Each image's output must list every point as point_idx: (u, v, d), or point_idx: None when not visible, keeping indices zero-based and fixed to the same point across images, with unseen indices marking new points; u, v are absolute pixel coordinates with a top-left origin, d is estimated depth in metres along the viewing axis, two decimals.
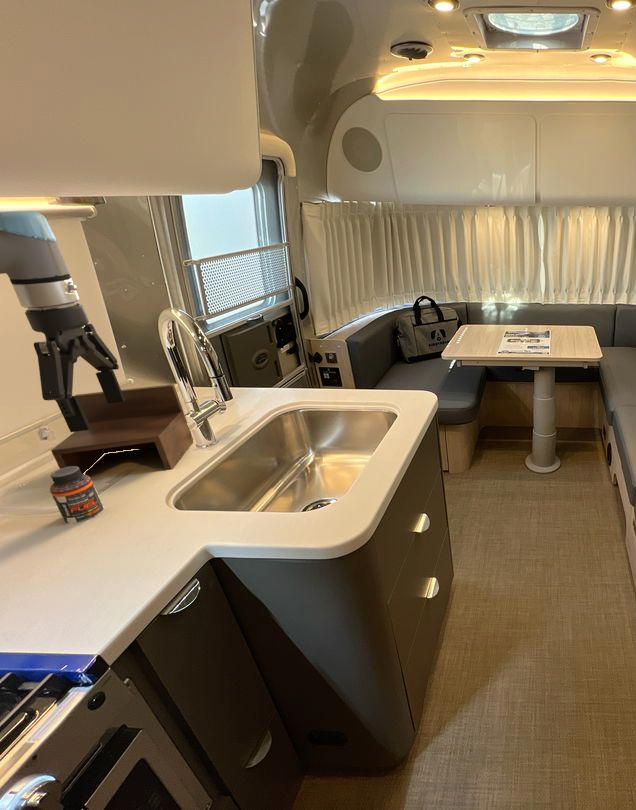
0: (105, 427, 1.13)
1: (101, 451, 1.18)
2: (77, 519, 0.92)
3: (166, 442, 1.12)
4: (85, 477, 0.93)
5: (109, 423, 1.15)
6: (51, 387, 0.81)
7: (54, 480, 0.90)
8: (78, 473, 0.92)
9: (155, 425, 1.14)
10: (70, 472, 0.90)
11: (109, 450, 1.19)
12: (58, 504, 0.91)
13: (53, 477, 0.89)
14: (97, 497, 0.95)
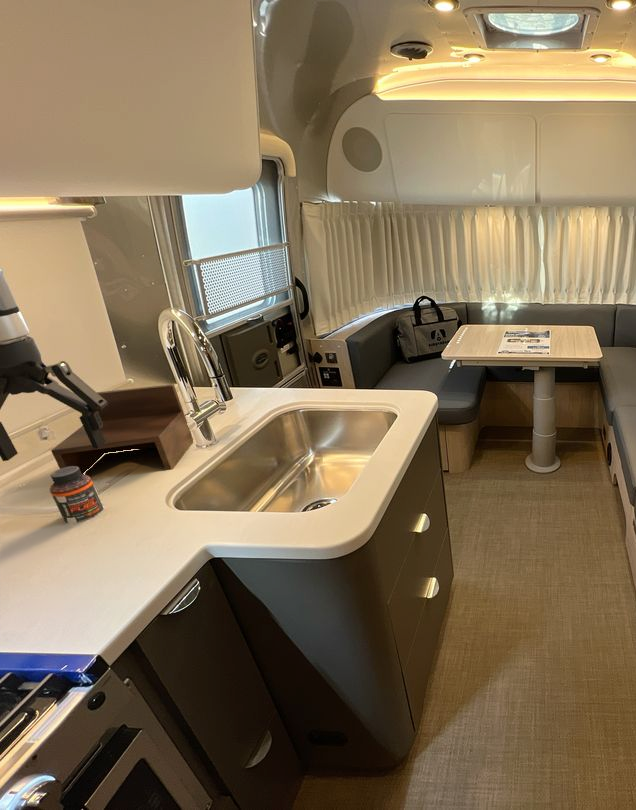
0: (105, 427, 1.13)
1: (101, 451, 1.18)
2: (77, 519, 0.92)
3: (166, 442, 1.12)
4: (85, 477, 0.93)
5: (109, 423, 1.15)
6: (97, 397, 0.88)
7: (54, 480, 0.90)
8: (78, 473, 0.92)
9: (155, 425, 1.14)
10: (70, 472, 0.90)
11: (109, 450, 1.19)
12: (58, 504, 0.91)
13: (53, 477, 0.89)
14: (97, 497, 0.95)
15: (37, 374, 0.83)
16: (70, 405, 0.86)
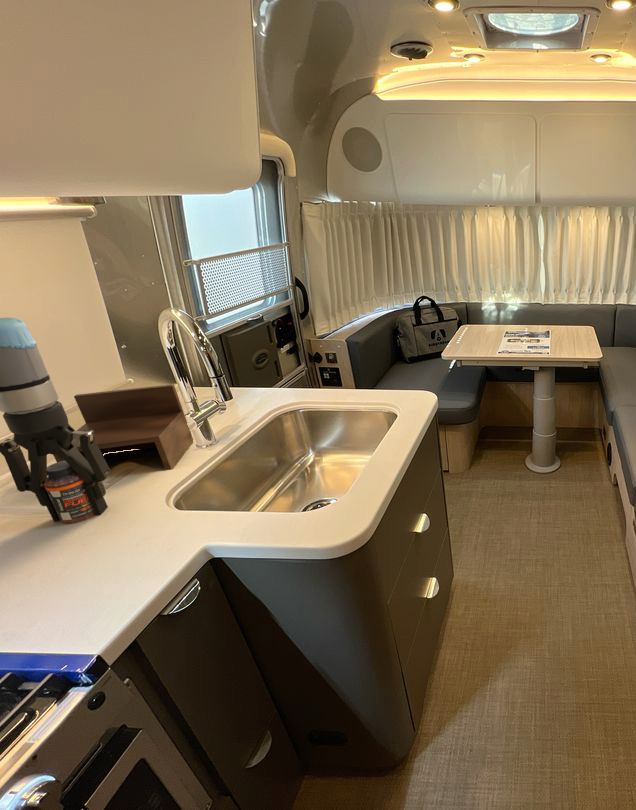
0: (105, 427, 1.13)
1: (101, 451, 1.18)
2: (71, 515, 0.91)
3: (166, 442, 1.12)
4: None
5: (109, 423, 1.15)
6: (105, 467, 0.93)
7: (49, 474, 0.89)
8: None
9: (155, 425, 1.14)
10: (65, 467, 0.90)
11: (109, 450, 1.19)
12: (52, 499, 0.90)
13: (48, 471, 0.89)
14: None
15: (64, 437, 0.88)
16: (79, 473, 0.91)
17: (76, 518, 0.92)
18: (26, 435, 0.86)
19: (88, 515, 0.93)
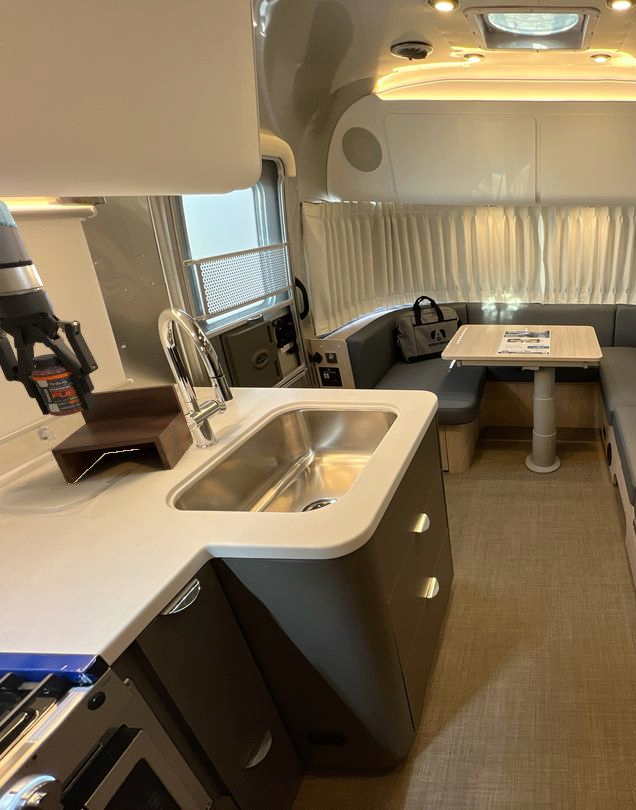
0: (105, 427, 1.13)
1: (101, 451, 1.18)
2: (59, 406, 0.92)
3: (166, 442, 1.12)
4: None
5: (109, 423, 1.15)
6: (91, 361, 0.93)
7: (35, 363, 0.89)
8: None
9: (155, 425, 1.14)
10: (51, 357, 0.90)
11: (109, 450, 1.19)
12: (40, 389, 0.90)
13: (34, 360, 0.89)
14: None
15: (49, 325, 0.88)
16: (66, 364, 0.91)
17: (64, 410, 0.92)
18: (11, 321, 0.86)
19: (76, 409, 0.94)
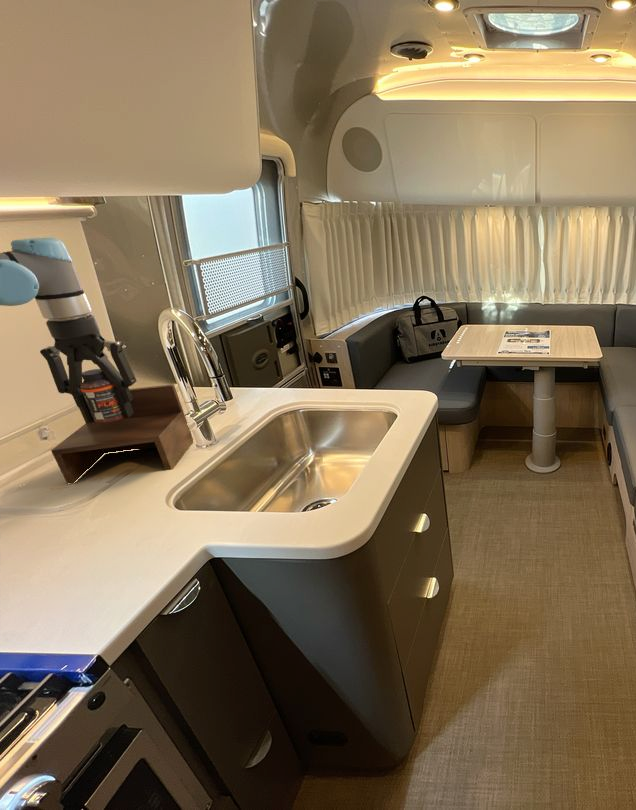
0: (105, 427, 1.13)
1: (101, 451, 1.18)
2: (103, 414, 1.06)
3: (166, 442, 1.12)
4: None
5: (109, 423, 1.15)
6: (131, 375, 1.07)
7: (84, 378, 1.03)
8: (104, 374, 1.05)
9: (155, 425, 1.14)
10: (97, 372, 1.04)
11: (109, 450, 1.19)
12: (87, 400, 1.04)
13: (83, 375, 1.03)
14: None
15: (97, 345, 1.02)
16: (110, 378, 1.05)
17: (108, 418, 1.07)
18: (65, 342, 1.00)
19: (117, 417, 1.08)
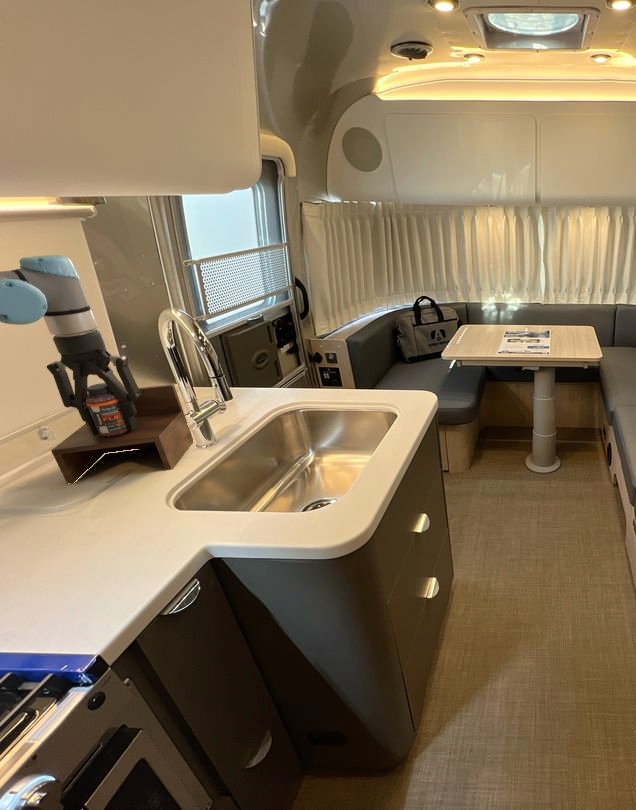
0: None
1: (101, 451, 1.18)
2: (108, 428, 1.07)
3: (166, 442, 1.12)
4: None
5: None
6: (136, 389, 1.09)
7: (89, 392, 1.05)
8: (109, 388, 1.07)
9: (155, 425, 1.14)
10: (103, 386, 1.06)
11: (109, 450, 1.19)
12: (92, 414, 1.06)
13: (89, 389, 1.04)
14: None
15: (103, 360, 1.03)
16: (115, 392, 1.06)
17: (112, 432, 1.08)
18: (71, 357, 1.02)
19: (122, 430, 1.09)
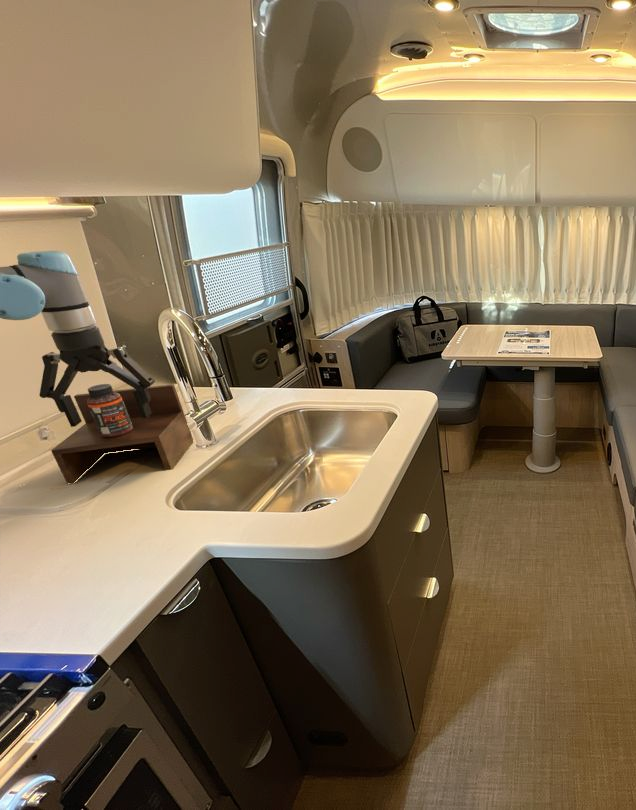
0: None
1: (101, 451, 1.18)
2: (110, 429, 1.07)
3: (166, 442, 1.12)
4: (116, 393, 1.08)
5: None
6: (147, 376, 1.08)
7: (90, 393, 1.05)
8: (110, 389, 1.07)
9: (155, 425, 1.14)
10: (104, 387, 1.06)
11: (109, 450, 1.19)
12: (94, 415, 1.06)
13: (90, 390, 1.05)
14: (126, 412, 1.10)
15: (101, 356, 1.03)
16: (126, 382, 1.06)
17: (114, 432, 1.08)
18: (70, 353, 1.01)
19: (123, 431, 1.09)
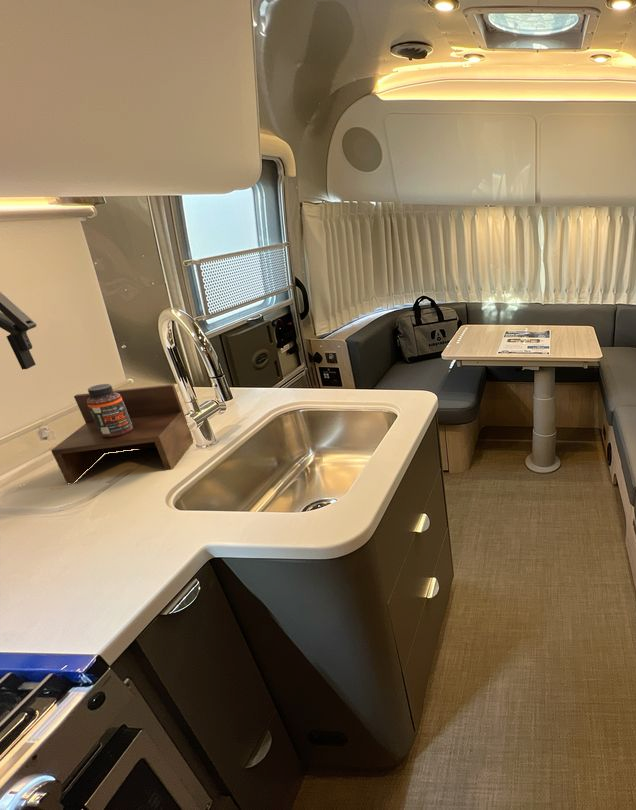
0: None
1: (101, 451, 1.18)
2: (110, 429, 1.07)
3: (166, 442, 1.12)
4: (116, 393, 1.08)
5: None
6: (24, 317, 0.90)
7: (90, 393, 1.05)
8: (110, 389, 1.07)
9: (155, 425, 1.14)
10: (104, 387, 1.06)
11: (109, 450, 1.19)
12: (94, 415, 1.06)
13: (90, 390, 1.05)
14: (126, 412, 1.10)
15: None
16: None
17: (114, 432, 1.08)
18: None
19: (123, 431, 1.09)
